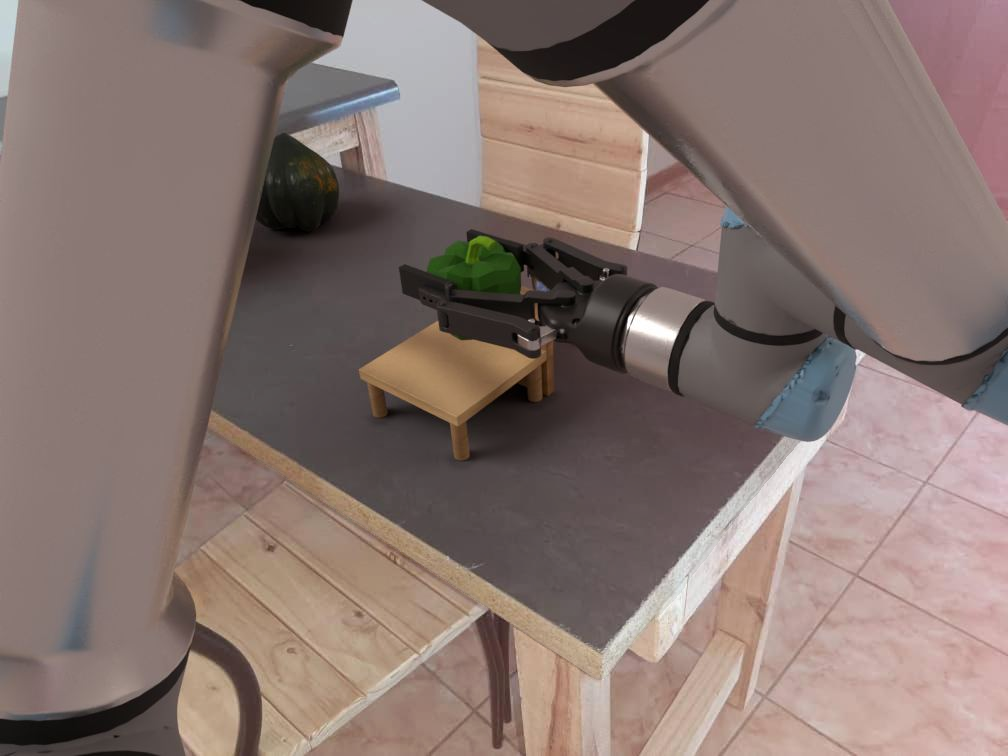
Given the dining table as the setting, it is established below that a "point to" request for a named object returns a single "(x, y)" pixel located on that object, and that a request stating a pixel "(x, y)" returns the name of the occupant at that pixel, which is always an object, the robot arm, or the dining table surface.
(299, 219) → the squash
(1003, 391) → the robot arm
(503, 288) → the bell pepper
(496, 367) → the miniature wooden chair
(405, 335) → the dining table surface
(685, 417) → the dining table surface
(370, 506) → the dining table surface
